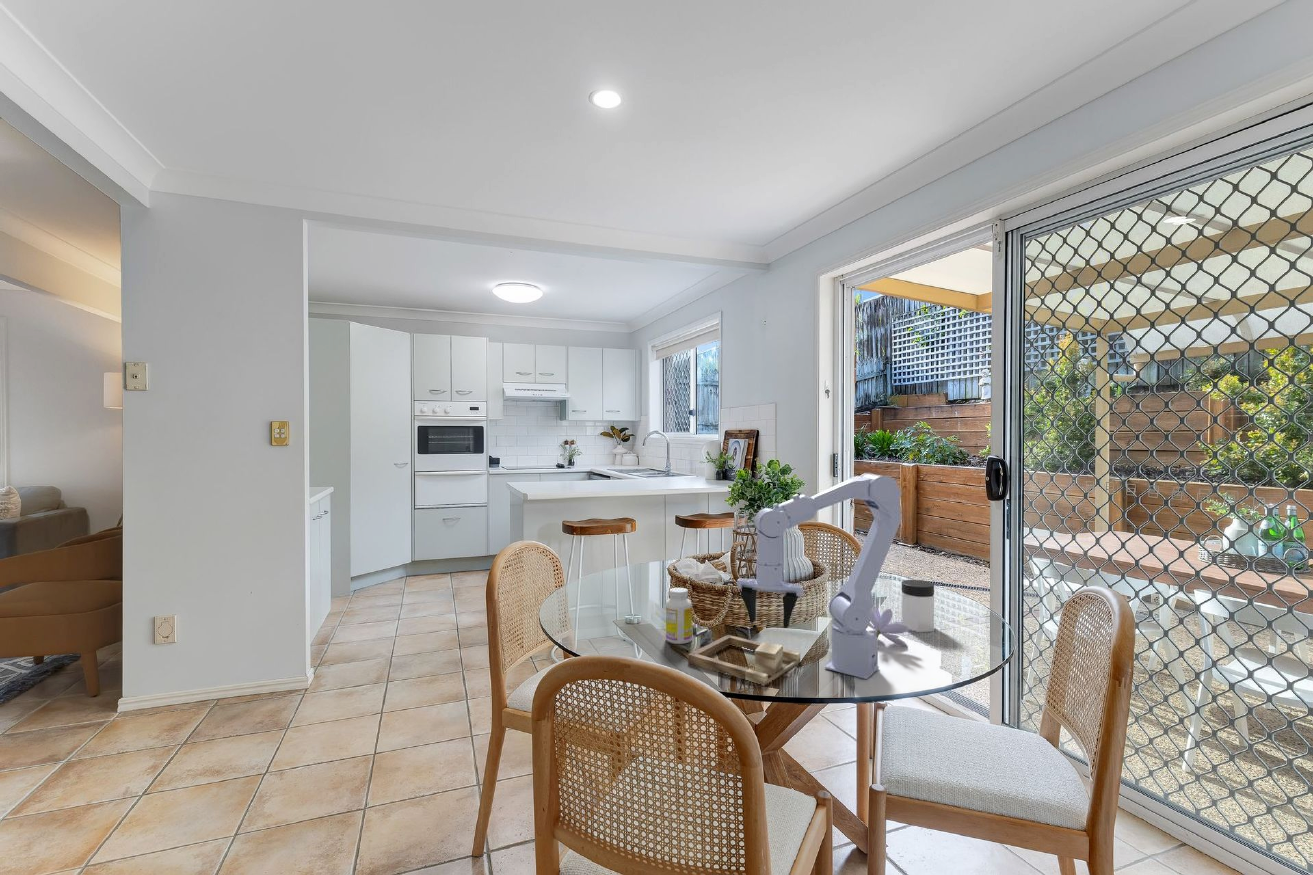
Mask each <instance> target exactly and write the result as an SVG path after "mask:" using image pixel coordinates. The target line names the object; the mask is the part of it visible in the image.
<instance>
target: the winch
mask: <svg viewBox="0 0 1313 875" xmlns="http://www.w3.org/2000/svg"><path fill="white" fill-rule="evenodd" d="M697 629H698V628H697V627H696V626H692V638H693V637H694V638H698V637H699V640H700V641H699V645H700V646H701V645H702V646H701V647H704V646H706V645H708V644H710V643H712V642H713V630H711V629H707V628H704V629H700V630H699V631H698V630H697Z"/></svg>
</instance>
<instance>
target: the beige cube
mask: <svg viewBox="0 0 1313 875" xmlns="http://www.w3.org/2000/svg"><path fill="white" fill-rule="evenodd" d="M761 643H762V644H761V645H760V646H759V647H758V648H757V649H756V650H755V652H753V653H754V654H753V655H754V671H758V672H761V673H765V674H768V677H769V676H770V677H772V676H773V675H775V674H776V673H778V672H779V671H781V670H782V669H783V660H782V657H783V649H784V646H783V645H782V644H776V643H771V642H765V641H763V642H761Z"/></svg>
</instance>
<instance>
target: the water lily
mask: <svg viewBox="0 0 1313 875" xmlns="http://www.w3.org/2000/svg"><path fill="white" fill-rule="evenodd" d="M870 618H871V619H870V624H869V626H868V628H871V629H872V630H867V631H868V632H870V633H873V634H875V635H876V636H877V639H879V636H880V635H882V636H883V637H884V638H886V639H888V641H890V642H893V643H894V644H897V645H899V646H902V647H906V648H908V644H907V643H906V642H905V641H903V640H902V639H901V638H900V636H899V635H898V634H903V633H907V632H909V631H911V629H910V628H908V627H907V626H905V625H903V624H902V622H901V621H895V622H894V621H893V622H891V621H892V619H893V611H892V609H891V608H887V609H885V610H884V611H883V612H882V613H880V611H879V608H877V607H876V606H875V607H874V610H872V609H871V611H870ZM890 622H891V623H890Z"/></svg>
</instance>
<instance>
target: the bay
mask: <svg viewBox="0 0 1313 875" xmlns="http://www.w3.org/2000/svg"><path fill="white" fill-rule="evenodd" d="M762 643H763V642H758V641H754V640H749V639H748V638H747V639H746V638H742V637H739V636H736V635H731V634H726V635H724V636H723V637H720V638H718V639H715V640H714V641H712V643H710V644H708V645H706V646H701V647H700V648H699V649H696V650H694V651H692V652H690V653H688V655H687V660H688V661H687V663H688V664H690V665H693V666H696V667H700V668H703V669H706V670H709V669H712V670H711V671H713V670H715V671H714V672H716V671H719V672H721V673H720V674H722V673H727V674H729V675H734V676H736V677H738V678H737V679H739V678H742V679H745V680H749V681H752V682H756V683H759V684H763V685H765V684H767V683H768V684H770V683H771V682H773V681H774V680H776V679H777V678H779V677H781V675H784V674H785V673H786V672H787V671H789V670H790V669H792V668H794V667H795V666H796V665H798V664H800V663H801V652H797V651H794V650H793V651H792V650H789V649H786V648H783V657H782V661H786V662H789V664H788V665H787V666H785V667H784V668H781V669H780V671H779V672H778V673H776V674H775V675H773V676H770V677H769V675H768V674H765V673H761V672H758V671H755V669H754V670H753V669H750V668H746V667H743V666H739V665H737V664H733V663H731V662H730V663H729V662H726V661H722V660H720V659H716V658H712V657H711V656H713V655H714V653H715V652H717V653H718V651H719V650H720V649H722V648H723V647H725V646H726V645H729V644H732V645H737V646H740V647H744V648H747V649H750V650H753V651H755V650H756V649H757V648H758V647H759V646H760V645H761V644H762ZM722 650H723V649H722ZM719 652H720V651H719ZM712 654H713V655H712ZM715 654H716V653H715ZM719 672H718V673H719ZM729 675H728V676H729ZM742 679H741V680H742ZM745 680H744V681H745ZM772 680H773V681H772ZM749 681H748V682H749ZM752 682H751V683H752ZM769 682H770V683H769ZM768 684H767V685H768Z"/></svg>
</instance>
